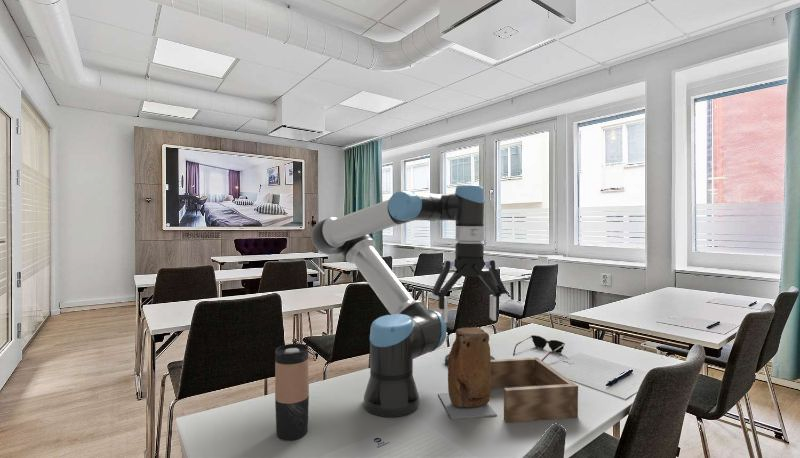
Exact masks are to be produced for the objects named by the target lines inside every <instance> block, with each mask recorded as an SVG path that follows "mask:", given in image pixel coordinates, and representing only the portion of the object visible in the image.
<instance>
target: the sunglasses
mask: <svg viewBox="0 0 800 458" xmlns="http://www.w3.org/2000/svg"><path fill="white" fill-rule="evenodd" d="M529 339H531V340H532V343H533V345H534V347H535V348H539V349H542V350H543V349H544V348H545V347H546V346H547V345H548V347H549V348H550V350H551V351H550V352H549V353H547V354H546V355H544V357H543V358H542V359H541V360H542V361H543V362H544V360H545V359H546V358H547V357H549V355H551V354H553V353H554V352H555V353H558V354H562V352H563V350H564V349H565V348H564V347H565V345H566V343H565V342H563V341H560V340H555V339H550V340H547V339H546V338H544V337H542V336H540V335H533V334H532V335H530V336H528V337H527V338H525V339H523V340H521V341H519V342H518V343H516V344H515V345H514V349H513V353H512V354H513V355H512V356H515V355H516V348H517V346H518V345H519V344H521V343H523V342H525V341H526V340H529Z"/></svg>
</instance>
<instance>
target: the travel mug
mask: <svg viewBox="0 0 800 458" xmlns="http://www.w3.org/2000/svg"><path fill="white" fill-rule="evenodd" d="M274 353H275V356H274V359H275V360H274V361H275V364H274V365H275V366H274V369H275V370H274V371H275V374H274V375H275V377H274V378H275V379H274V381H275V382H274V386H275V389H274V390H275V391H274V397H275V399H274V400H275V401H274V402H275V403H274V404H275V427H276V436H277V438H278V439H279V440H281V441H289V442H290V441H296V440H299V439H301V438H303V437H305V435H307V433H308V431H309V429H308V428H309V404H310V403H309V399H310V398H309V397H310V394H309V393H310V389H309V387H310V386H309V385H310V384H309V347H308V345H307V344H303V343H289V344H284V345H280V346H278V347H277V348H275V350H274Z"/></svg>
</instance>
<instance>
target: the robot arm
mask: <svg viewBox="0 0 800 458" xmlns="http://www.w3.org/2000/svg"><path fill="white" fill-rule="evenodd" d="M484 195H485V193H484V188H483V187H482V186H481V185H477V184H461V185H457V186H456V188H455V191H454V193H429V192H419V191H413V190H412V191H411V190H398V191H395V192H394V193H393V194H391V196H390V198H389V199H387V200H384V201H381V202H378V203H376V204H373V205H369V206H367V207H364V208H363V209H359V210H357V211H353V212H351V213H348V214H346V215H343V216H340V217H335V216H334V217H333V216H332V217H331V216H330V217H328V218H326V219H323V220H320V221H319V222H317V223H316V224H315V225H314V226H313V228H312V231H311V234H310V235H311V236H310V239H311V243H312V245H313V246H314V248H315V249H316V250H318V251H319V252H320V253H322V254H325V255H342V256H343V258H344V259H345V260H346V262H347V263H348V264H354V265H355V266H356V268H357V270H359V272H360V273H361V275H362V276H363V278H364V279H365V280H366V282H367V284H368V285H369V287H370V288H371V289H372V290H373V292H374V293H375V294H376V296H377V298H378V299H379V300H380V301H381V304H383V306H384V307H385V309H386V310H387V311H388V313H389V314H385V315H382V316H379V317H378V318H376V319H374V320H373V321H372V323H371V324H370V334H369V369H370V371H369V373H370V374H369V375H370V376H369V379H368V383H367V385H366V388H365V392H364V395H363V407H364V409H365V410H366V411H367V412H369V413H370V414H373V415H375V416H378V417H386V418H392V417H393V418H394V417H396V418H397V417H403V416H406V415H410V414H412V413H413V412H415V411H416V410H417V409H418V408H419V406H420V395H419V392H418V388H417V385H416V381H415V378H414V375H413V373H414V372H413V371H414V369H413V368H414V367H413V366H414V364H413V363H414V362H413V361H414V359H417V358H418V357H421V356H423V355H426V354H428V353H432V352H434V351H436V350H437V349H439V348H440V347H441V346H442V345H443V344H444V342H445V341H446V338H447V323H448V297H447V294H448V293H449V292H450V290H451V289H452V288H453V287H454V286H455V285H456V283H457V282H458V281H459V280H460V279H461V278H462V277H464V278H468V277H472V278H476V277H479V279H480V280H481V281H482V282H483V284H484V285H485V286H486V287H487V289H488V290H489V291H490V292H491V294H489V319H490V320H491V321H494V322H495V321H497V308H499V307H500V297H501V296H502V295H505V294H506V293H507V289H506V287H505V286H504V284H503V281H502V279H501V277H500V274H499V273H498V271H497V268H496V260H493V259H488V260H485V259H484V249H485V247H484V244H483V243H482V242H483V241H484V240H485V239H484V232H485V231H484V230H485V229H484V225H485V224H484V217H485V216H484V210H485V196H484ZM412 221H413V222H414V221H428V222H431V221H432V222H435V221H455V238H454V239H455V241H456V243H455V251H454V253H455V254H454V255H455V259H454V260H452V261H451V260H447V259H445V260H444V261H443V266H442V270H441V271H440V273H439V276H438V278H437V280H436V282H435V283H434V286H433V288H432V290H431V294H432V295H434V296H436V297H438V308H439V309H440V310H441V313H440V312H438V311H437V310H433V309H428V308H427V306H426V304H424V302H422V300H417V299H416V300H415V299H414V298H413V296H412V295H411V293H409V291H408V290H407V289H406V287H405V286H404V285H403V284H402V282H401V281H400V279H399V278H398V277H397V276H396V274H395V273H394V271H393V270H392V269H391V267H389V265H388V263H386V262H385V260H384V259H383V258H382V256H381V255H380V254H379V252H378V251H377V250H376V240H375V239H376V238H375V236H374V234H375V233H377V232H380V231H383V230H386V229H390V228H393V227H396V226H399V225H402V224H406V223H409V222H412ZM453 267H454V268H455V269H456V270H455V271H454V272H453V273H452V275H451V277H449V279H448V280H447V282H446V283H445V281H446V279H447V277H448V275H449V272H450V270H451V269H452V268H453ZM485 267H486V268H487V269H488V271H489V274H490V275H491V278H492V280H493V282H494V284H495V285H494V284H493V283H492V282H491V280H490V278H488V277H487V276H486V274H485V273H484V271H483V268H485ZM444 283H445V284H444Z"/></svg>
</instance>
